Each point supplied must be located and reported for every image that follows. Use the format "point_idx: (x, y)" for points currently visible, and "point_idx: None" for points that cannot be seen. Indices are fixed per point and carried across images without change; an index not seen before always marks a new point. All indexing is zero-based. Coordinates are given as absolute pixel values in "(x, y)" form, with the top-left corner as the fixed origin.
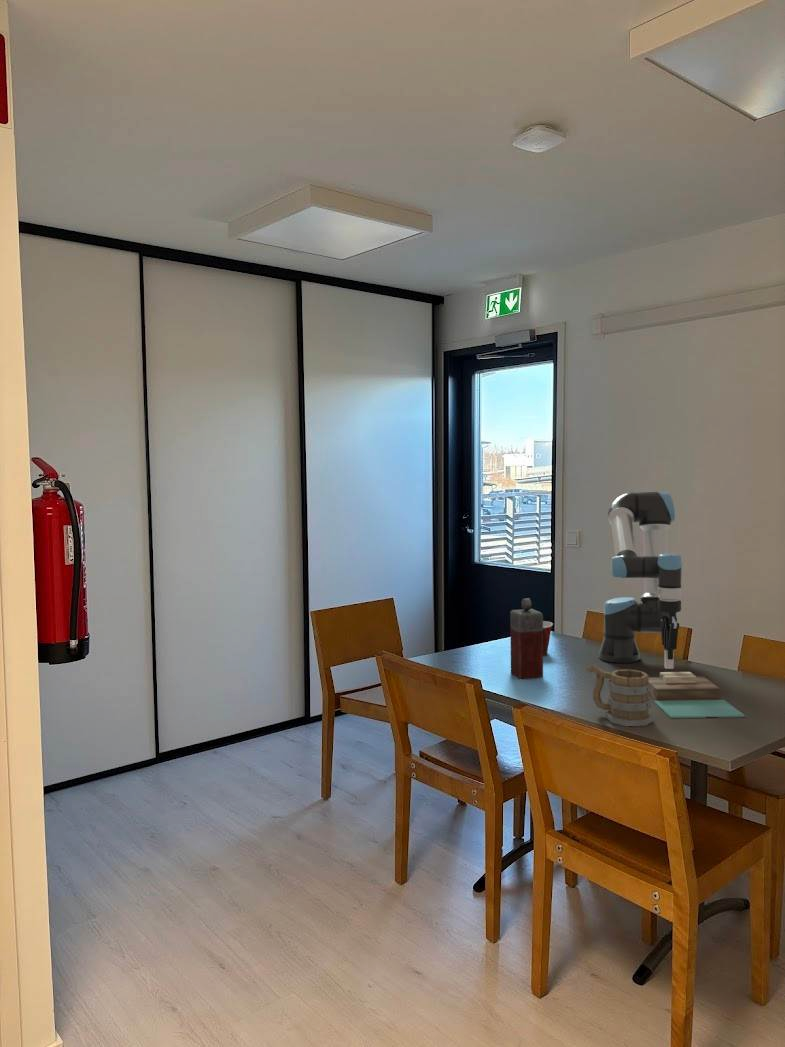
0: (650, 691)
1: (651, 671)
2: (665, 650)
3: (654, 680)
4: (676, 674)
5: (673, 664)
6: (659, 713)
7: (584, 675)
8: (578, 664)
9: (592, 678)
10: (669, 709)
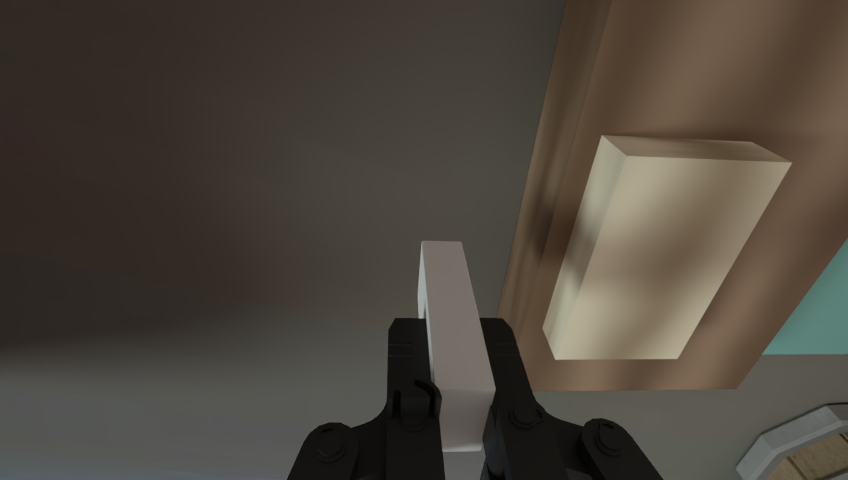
0: None
1: (55, 197)
2: (466, 440)
3: (580, 362)
4: (654, 284)
5: (465, 265)
6: (829, 365)
7: (236, 474)
8: (22, 471)
9: (286, 460)
10: (840, 334)
